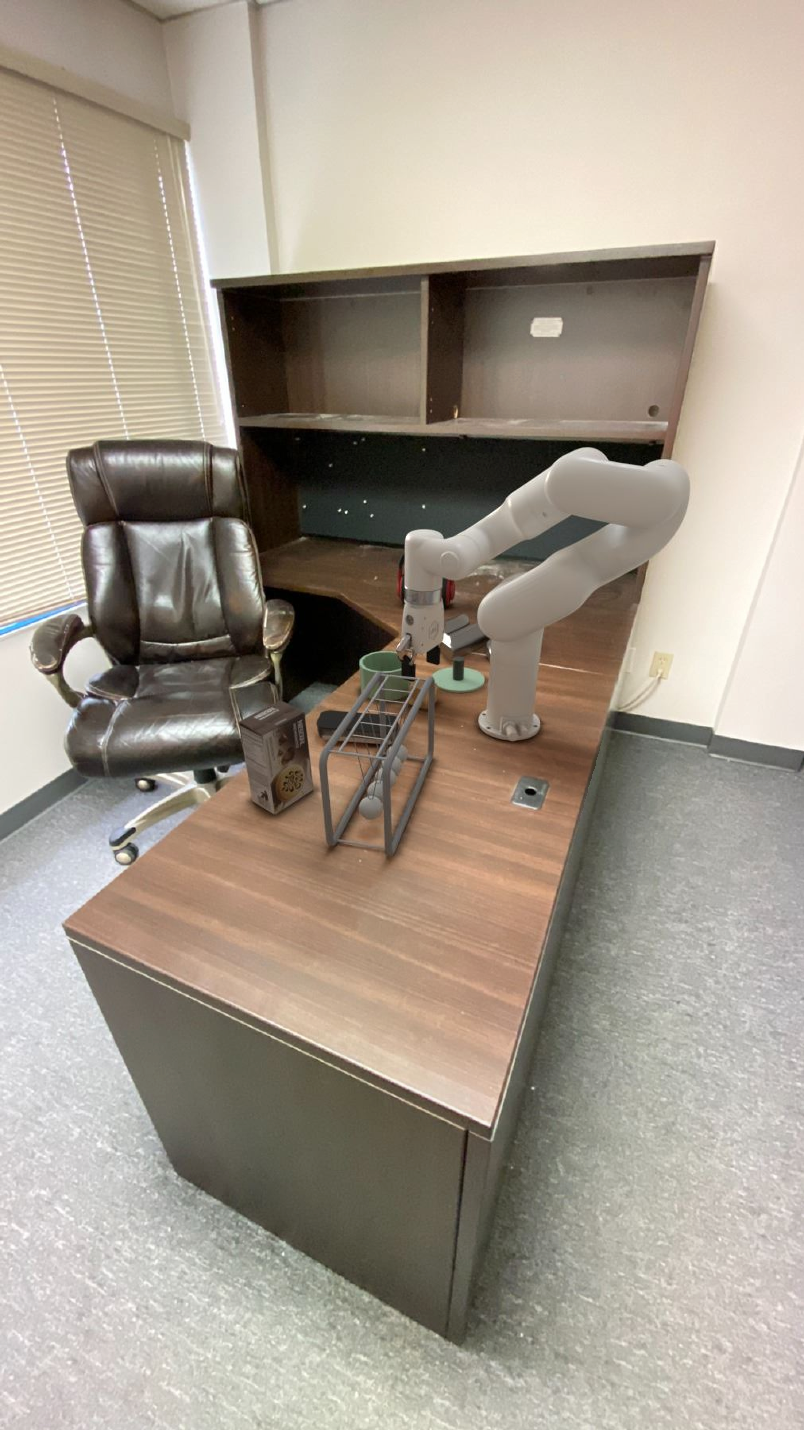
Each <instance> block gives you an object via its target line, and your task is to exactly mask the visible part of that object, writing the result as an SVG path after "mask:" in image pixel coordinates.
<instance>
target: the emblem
mask: <svg viewBox="0 0 804 1430" xmlns="http://www.w3.org/2000/svg"><path fill="white" fill-rule="evenodd" d="M444 623H445V624H446V626H445V629H444V639H443V641H442V646H441V647H439V648H441V649H440V654H442V656H443V657H445V658H446V659H447V660H449V662H453V658H454V657H463V658H464V657H465V656H467V655H469V654H471V653H473V652H476V651H477V650H480V649H481V648H484V647H485V655H486V658H487V660H488V662H490V654H491V642H492V639H490V638H489V637H487V636H486V635H485V634H484V633H483V632H482V631H481V629H480V627H479V624H478V621H475V622H474V623H471V622H470V617H469V615H468V614H467V613H462V614H461V613H460V614H459V615H456V616H454V617H450V618H448V619H446V620H445V619H444Z"/></svg>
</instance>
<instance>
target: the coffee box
mask: <svg viewBox="0 0 804 1430" xmlns="http://www.w3.org/2000/svg"><path fill="white" fill-rule="evenodd" d="M237 723H238V727H239V732H240V738H241V744H242V750H243V755H244V756H243V757H244V761H245V762H244V763H245V768H246V773H247V778H248V785H249V790H250V795H251V801H252V802H254V803H255V804H257V805H258V806H260V807H261V808H263V809H265V810H266V811H268V812H269V813H270V814H272V815H277V814H279V813H281V812H282V811H283V810H285V809H287V808H288V807H289V806H291V805H293V804H294V803H295V802H297V801H299V800H300V799H302V798H303V797H305V796H306V795H307V794H309V793H310V792H312V791H314V781H313V773H312V764H311V755H310V748H309V747H310V746H309V739H308V730H307V722H306V713H305V711H304V710H302V709H299V708H297V707H295V706H293V705H292V704H290V703H287V702H284V701H282V700H278V701H276V702H274V703H272V704H270V705H268V706H267V707H264V708H263V709H260V710H258V711H256V712H254V713H252V714H251V715H249V716H247V717H245V718H243V719H241V720H239V721H238V722H237Z"/></svg>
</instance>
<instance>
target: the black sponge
mask: <svg viewBox="0 0 804 1430" xmlns="http://www.w3.org/2000/svg"><path fill="white" fill-rule="evenodd" d="M348 712H349V711H345V710H344V711H342V710H333V709H328V710H327V709H326V710H323V711H321V712H320V714H319V717H318V718H317V720H316V732H317V734H318V736H319V738H320V739H322V740H325V741H329V740H330V738H331V737H332V735H333V734H334V733H335V731H336V730H337V728H338V727H339V725H340V724H341V722H342V721H343V720H344V718H345V717H346V715H347V714H348ZM369 713H370V717H371V721H372V725H373V729H374V733H375V737H376V738H381V737H380V725H375V724H380V718H379V714H380V713H371V712H369ZM369 713H368V712H366V713H365V715H364V717H363V718H362V720H361V721H360V722H364V723H362V727H363V730H364V734H365V736H366V737H365V738H366V742H367V744H376V741H377V745H380V743H381V739H376V741H375V737H374V733H373V729H372V725H371V724H367V723H371V721H370V717H369ZM362 714H363V712H359V711H358V712H357V713H356V715H355V716H354V718H353V719H352V721H351V722H350V724H349V725H348V727H347V728H346V730H345V731H344V733H343V734H342V736H341V737H340V739H339V740H338V742H344V741H345V740H346V738H347V737H348V735H349V733H350V732H351V730H352V729H353V727H354V726H355V724H356V723H357V721H358V720H359V718H360V717H361V715H362ZM389 718H390V722H389ZM389 718H388V714H386V725H388V726H386V737H387V735H388V733H389V731H390V729H391V726H393V724H394V722H395V720H396V718H397V715H395V714H389ZM390 723H391V726H390ZM399 724H400V723H399V721H398V722H397V725H396V730H395V727H394V729H393V735H394V730H395V735H394V740H395V739H396V737H397V734H398V729H399ZM362 727H361V723H359V724H358V726H357V727H356V729H355V731H354V732H353V734H352V735H353V736H354V735H358V736H354V740H355V743H361V744H366V742H365V738H364V737H361V736H364V734H363V731H362ZM399 730H400V729H399ZM352 735H351V737H350V738H349V740H348V741H347V743H348V742H349V743H354V740H353V736H352ZM393 735H392V733H391V735H390V739H389V738H388V739H389V744H388V740H387V742H386V743H387V744H388V745H392V740H393ZM369 737H373V738H369ZM394 740H393V743H394Z"/></svg>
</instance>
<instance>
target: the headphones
mask: <svg viewBox="0 0 804 1430" xmlns="http://www.w3.org/2000/svg"><path fill="white" fill-rule="evenodd" d="M404 564H405V549H404V550H403V551H402V552H401V554H400V557H399V559H398V562H397V568H398V569H397V583H396V594H397V597H398V598H399V600H400V602H401V603H402V605H405V604H406V603H405V602H404V586H405V572H404V573H403V568H404V567H403V566H404ZM455 597H456V583H455V580H449V579H446V578H443V580H442V600H443V607H444V608H447V607H449V605H450V604H451V601H453V600H454V599H455Z"/></svg>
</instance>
